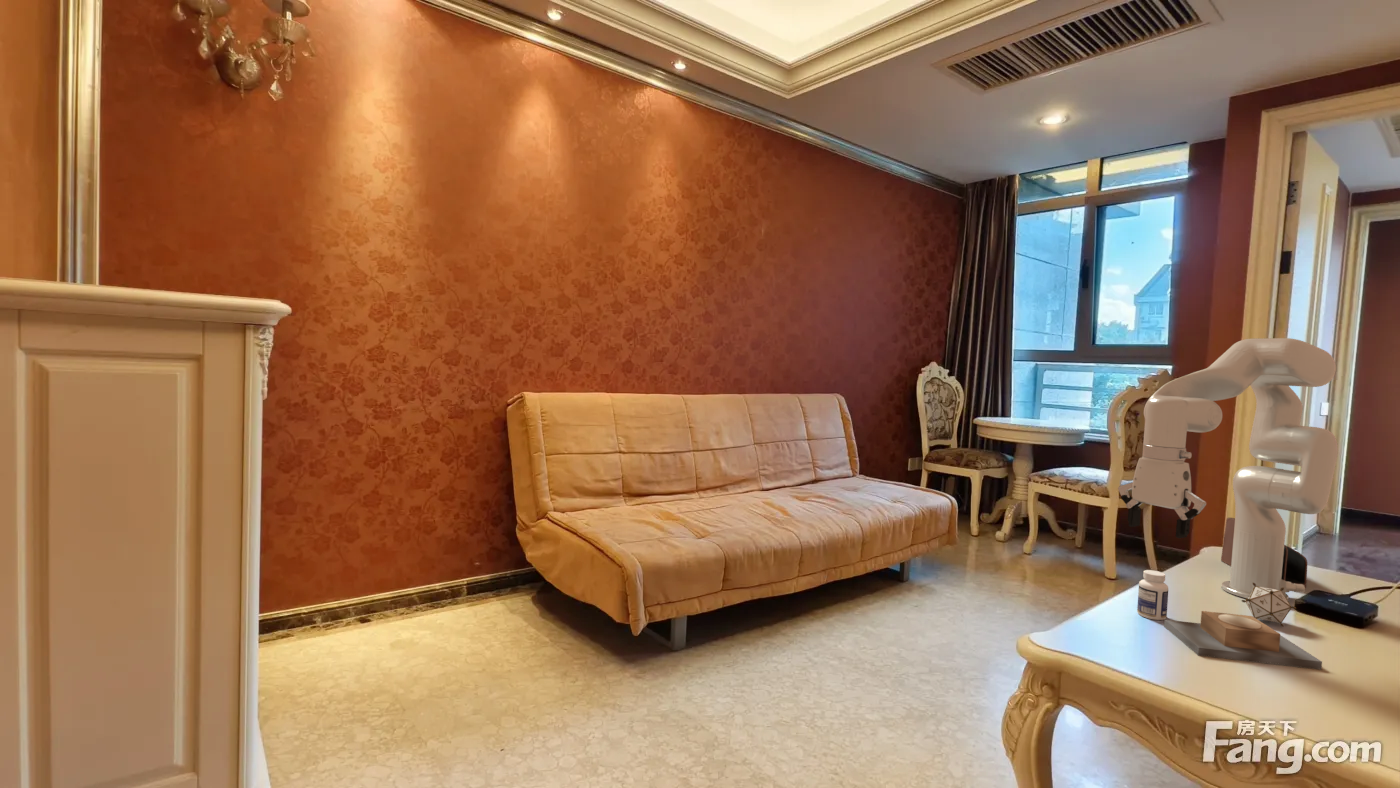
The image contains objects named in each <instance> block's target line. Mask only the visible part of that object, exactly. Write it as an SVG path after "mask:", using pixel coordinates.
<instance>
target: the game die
mask: <svg viewBox="0 0 1400 788" xmlns="http://www.w3.org/2000/svg"><path fill="white" fill-rule="evenodd" d="M1253 585H1254V586H1255V587H1254V588H1253V590H1252V591H1251V593H1250V594H1249V596H1248V598H1245V599H1242V600H1241V602H1242V603H1246V605H1247V607H1248V609H1249V610H1250V613H1251V616H1253V617H1254V618H1256V619H1257V620H1259V621H1265V622H1272V623H1277V624H1279V625H1280V627H1282V628H1284V626H1285V625H1284V624H1283V621H1284V620H1285V618H1286V617H1287V615H1288V614H1289V612H1290V611H1291V610H1292V609H1293V610H1295V609H1297V607H1296V606H1292V605H1291V604H1290V602H1289V599H1288V600H1287V599H1286V597H1285V595H1284V594H1283V592H1282V590H1284V587H1283V588H1281V589H1280V590H1278V589H1272V588H1266V587H1260V586H1256V584H1255V583H1253Z"/></svg>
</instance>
